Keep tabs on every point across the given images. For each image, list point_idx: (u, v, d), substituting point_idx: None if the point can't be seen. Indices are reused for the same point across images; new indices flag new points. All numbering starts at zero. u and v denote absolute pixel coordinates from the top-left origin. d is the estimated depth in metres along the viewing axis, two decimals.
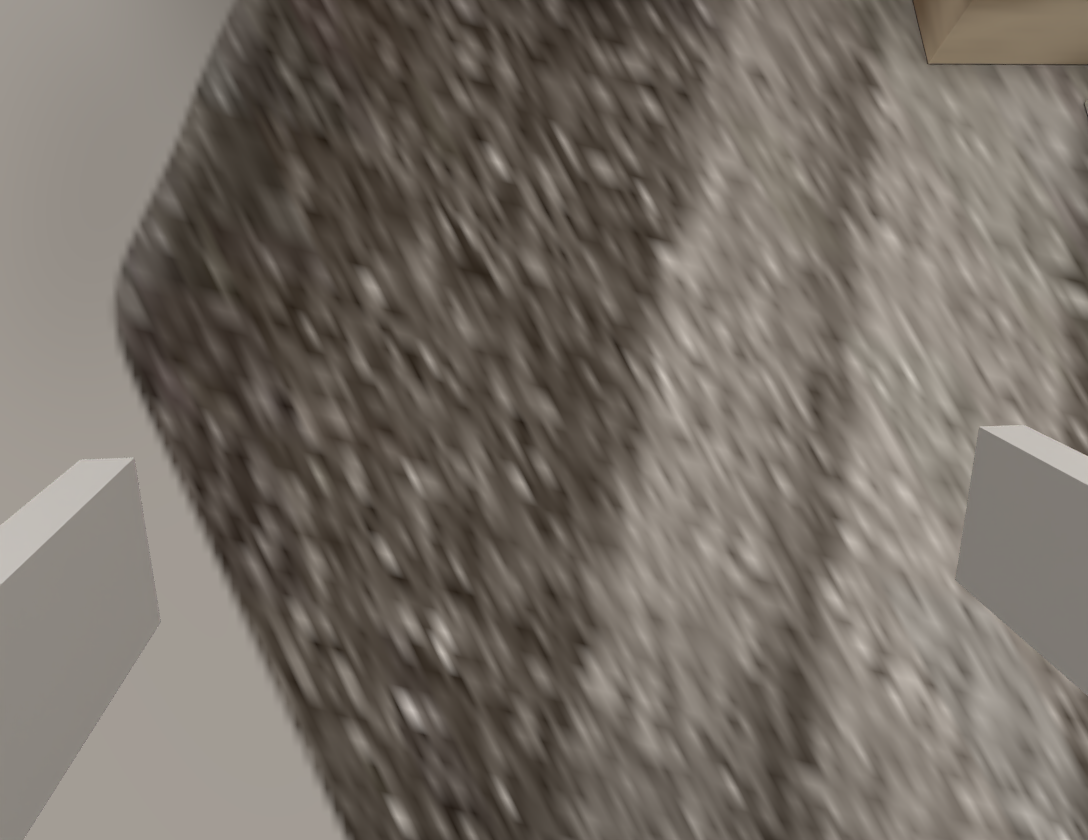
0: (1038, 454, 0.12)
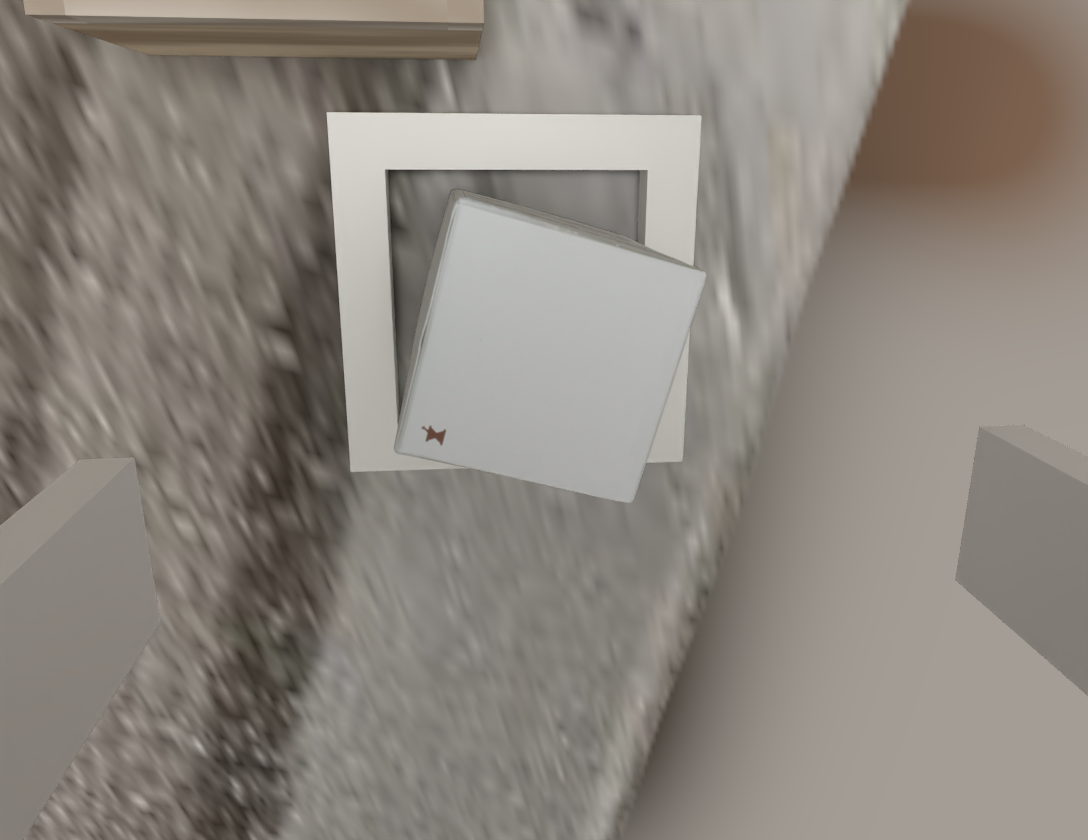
0: (1038, 454, 0.12)
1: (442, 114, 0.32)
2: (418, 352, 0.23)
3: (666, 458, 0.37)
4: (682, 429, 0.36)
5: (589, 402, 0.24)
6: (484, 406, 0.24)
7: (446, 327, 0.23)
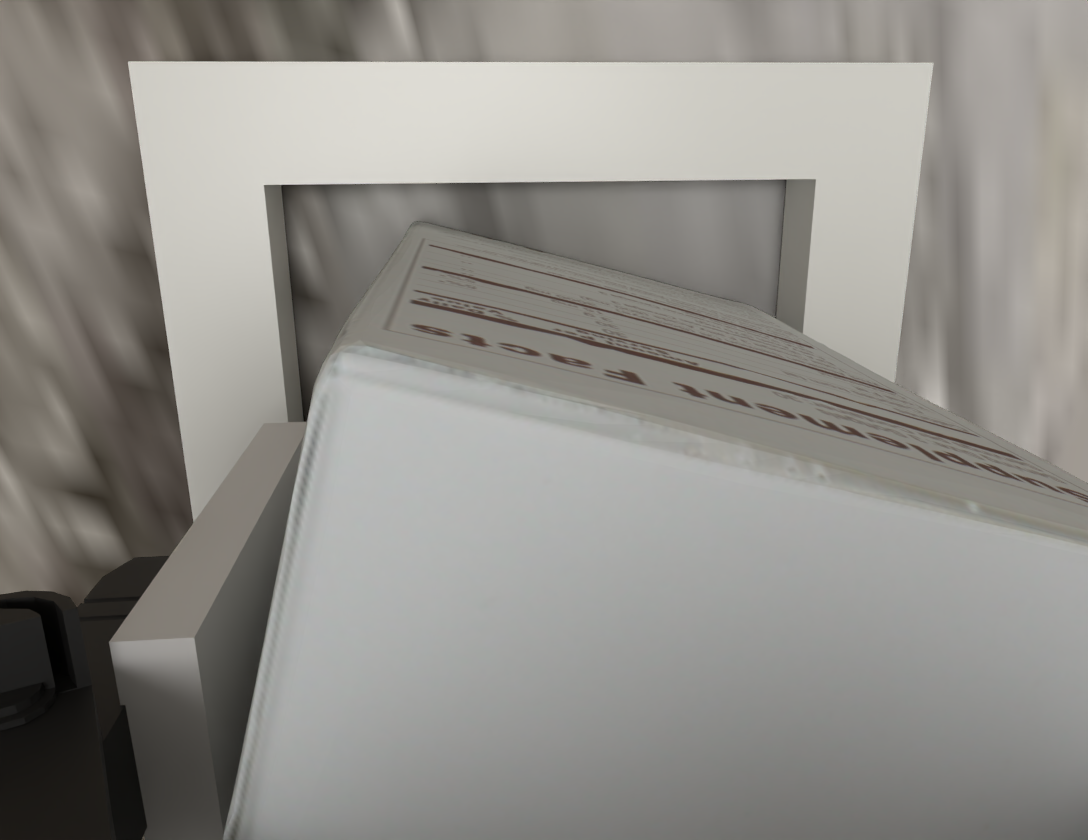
0: None
1: (383, 64, 0.15)
2: None
3: None
4: None
5: None
6: None
7: (311, 830, 0.06)
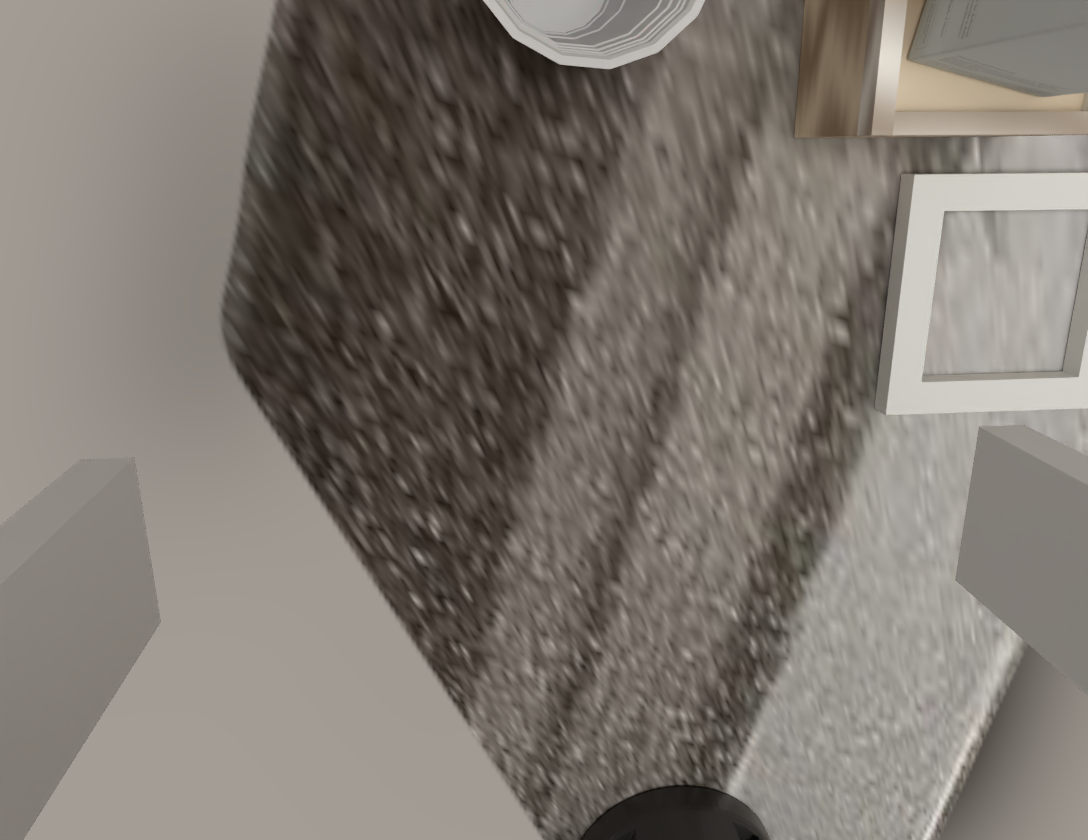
0: (1038, 454, 0.12)
1: (986, 174, 0.48)
2: None
3: None
4: None
5: None
6: None
7: None
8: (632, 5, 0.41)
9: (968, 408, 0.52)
